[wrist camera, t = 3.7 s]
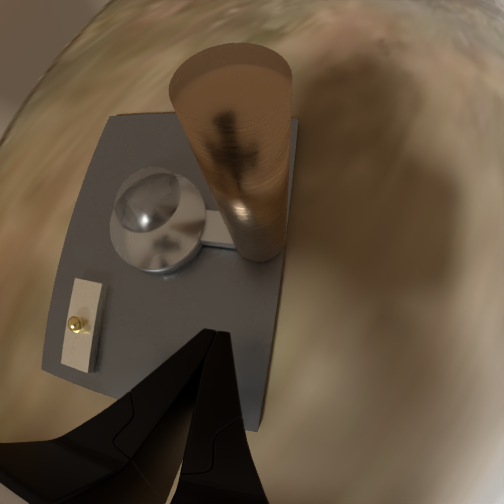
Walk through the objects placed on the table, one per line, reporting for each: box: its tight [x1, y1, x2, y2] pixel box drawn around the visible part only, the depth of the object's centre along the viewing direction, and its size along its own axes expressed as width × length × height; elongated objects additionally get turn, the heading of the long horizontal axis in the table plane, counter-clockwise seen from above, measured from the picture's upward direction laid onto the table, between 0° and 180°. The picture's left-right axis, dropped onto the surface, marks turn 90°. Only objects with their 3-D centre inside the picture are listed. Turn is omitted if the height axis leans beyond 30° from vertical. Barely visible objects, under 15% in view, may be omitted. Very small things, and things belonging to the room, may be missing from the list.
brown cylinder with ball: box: [110, 43, 292, 274], centre depth 13 cm, size 6×11×12 cm, turn 82°
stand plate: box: [41, 113, 299, 432], centre depth 19 cm, size 20×15×2 cm
